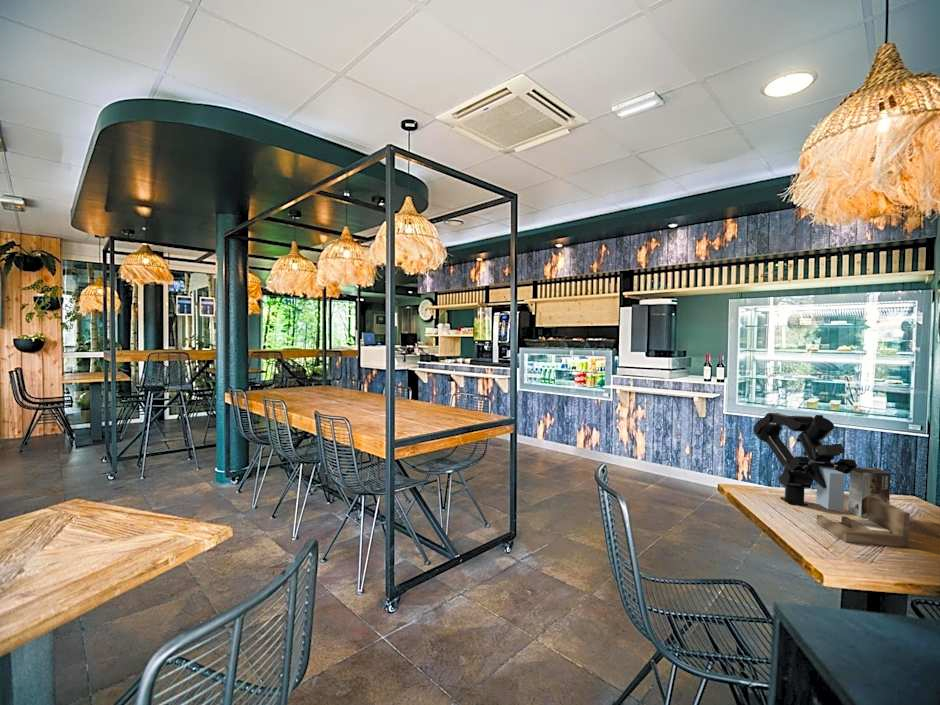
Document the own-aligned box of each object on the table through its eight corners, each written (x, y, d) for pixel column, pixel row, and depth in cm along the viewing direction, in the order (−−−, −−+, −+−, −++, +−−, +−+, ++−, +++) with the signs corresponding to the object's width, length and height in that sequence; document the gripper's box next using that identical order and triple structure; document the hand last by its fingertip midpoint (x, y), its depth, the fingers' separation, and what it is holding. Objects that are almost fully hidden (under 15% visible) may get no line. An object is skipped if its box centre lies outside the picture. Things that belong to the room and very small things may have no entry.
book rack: (816, 523, 148) (817, 493, 148) (872, 527, 146) (874, 497, 146) (845, 542, 135) (847, 509, 134) (907, 546, 133) (909, 513, 132)
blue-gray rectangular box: (816, 502, 152) (818, 467, 152) (830, 503, 152) (832, 468, 151) (828, 509, 146) (830, 473, 146) (843, 510, 146) (845, 473, 145)
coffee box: (874, 512, 160) (876, 467, 159) (889, 519, 153) (892, 473, 153) (846, 510, 160) (849, 466, 160) (860, 517, 154) (863, 471, 153)
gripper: (795, 432, 153) (814, 474, 142) (855, 435, 151) (879, 478, 140) (781, 450, 161) (798, 490, 151) (837, 452, 159) (858, 494, 148)
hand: (833, 488), depth 147 cm, fingers closed on blue-gray rectangular box, 4 cm apart
